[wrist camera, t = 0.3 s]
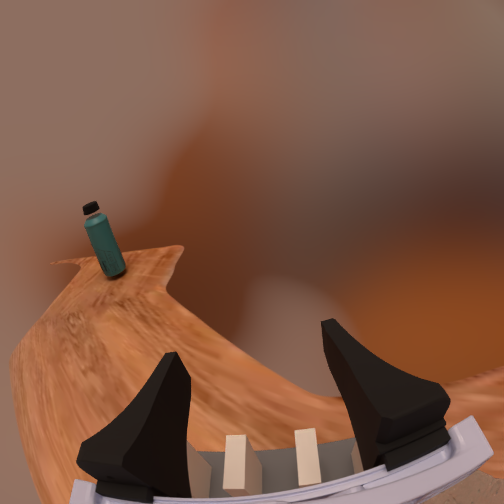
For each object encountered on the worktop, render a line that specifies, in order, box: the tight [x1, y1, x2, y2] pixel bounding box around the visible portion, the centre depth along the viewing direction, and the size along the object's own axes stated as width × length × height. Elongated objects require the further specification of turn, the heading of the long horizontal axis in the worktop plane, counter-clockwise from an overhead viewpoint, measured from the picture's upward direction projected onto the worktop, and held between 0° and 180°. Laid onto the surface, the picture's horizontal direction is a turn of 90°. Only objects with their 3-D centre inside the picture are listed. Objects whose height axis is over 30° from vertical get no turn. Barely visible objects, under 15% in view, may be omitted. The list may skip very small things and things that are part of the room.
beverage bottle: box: [83, 201, 125, 276], centre depth 64 cm, size 6×7×20 cm
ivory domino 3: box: [295, 428, 321, 488], centre depth 19 cm, size 5×2×9 cm, turn 179°
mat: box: [197, 438, 356, 498], centre depth 22 cm, size 9×28×1 cm, turn 89°
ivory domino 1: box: [187, 441, 212, 498], centre depth 20 cm, size 5×2×9 cm, turn 179°
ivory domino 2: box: [223, 435, 262, 497], centre depth 20 cm, size 5×2×9 cm, turn 179°
